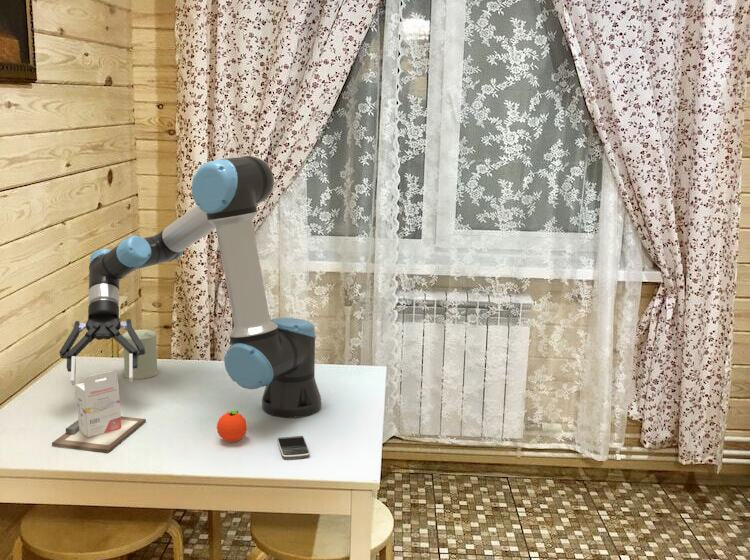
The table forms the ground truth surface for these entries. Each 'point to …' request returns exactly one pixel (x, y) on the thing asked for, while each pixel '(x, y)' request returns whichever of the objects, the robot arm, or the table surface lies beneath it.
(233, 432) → the clementine
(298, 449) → the cell phone
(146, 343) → the can
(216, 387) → the table surface
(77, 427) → the clipboard
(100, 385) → the ink cartridge box
